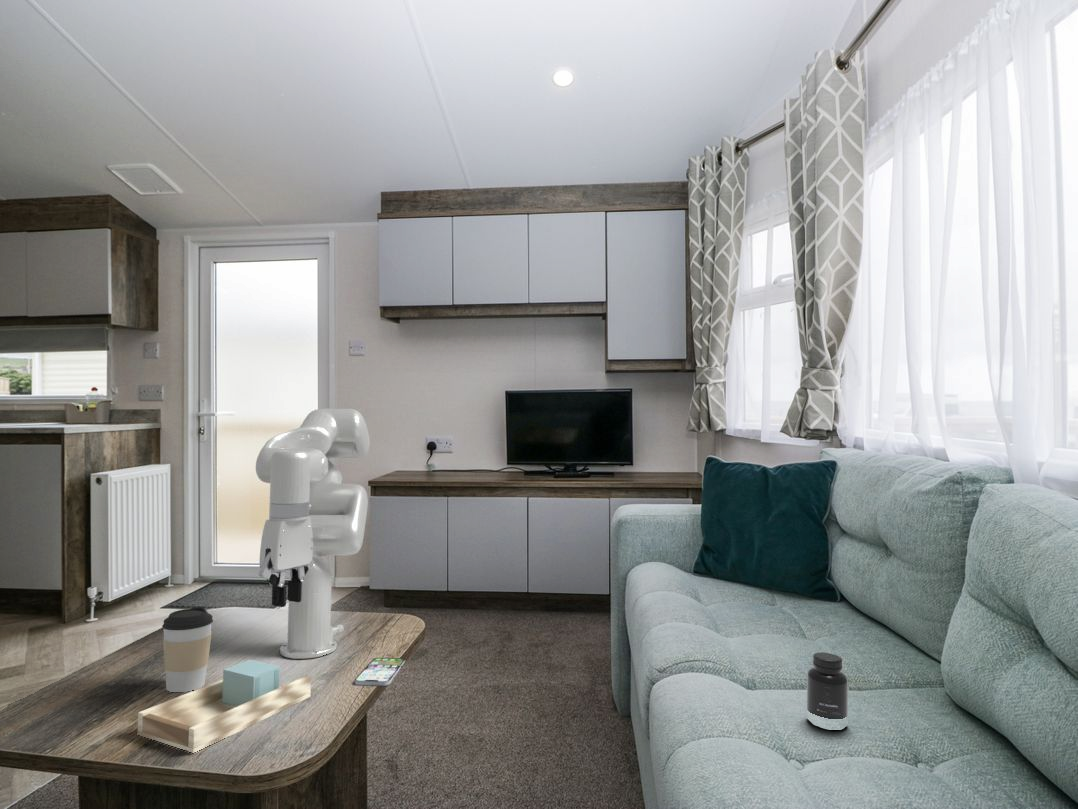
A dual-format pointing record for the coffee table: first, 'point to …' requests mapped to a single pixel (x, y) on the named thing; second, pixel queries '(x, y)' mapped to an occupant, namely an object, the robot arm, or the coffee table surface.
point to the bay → (213, 714)
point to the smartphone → (380, 671)
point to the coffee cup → (186, 648)
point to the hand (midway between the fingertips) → (286, 602)
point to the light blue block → (249, 681)
